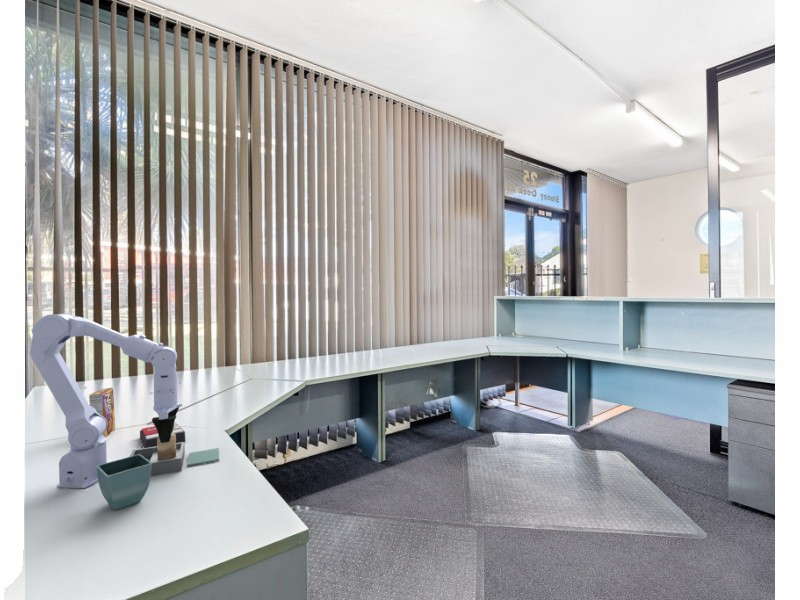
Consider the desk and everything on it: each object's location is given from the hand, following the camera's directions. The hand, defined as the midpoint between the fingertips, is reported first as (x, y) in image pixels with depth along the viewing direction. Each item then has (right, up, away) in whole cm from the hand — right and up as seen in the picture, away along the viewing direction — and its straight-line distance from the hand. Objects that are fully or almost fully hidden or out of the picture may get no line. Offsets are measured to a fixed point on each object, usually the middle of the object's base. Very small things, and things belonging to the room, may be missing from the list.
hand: (166, 437), depth 108 cm
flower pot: (+3, -8, -20) cm, 22 cm away
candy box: (-38, -8, +25) cm, 46 cm away
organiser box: (-2, -8, -1) cm, 8 cm away
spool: (0, -6, 0) cm, 6 cm away
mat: (+8, -8, +4) cm, 12 cm away
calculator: (-13, -8, +19) cm, 25 cm away
